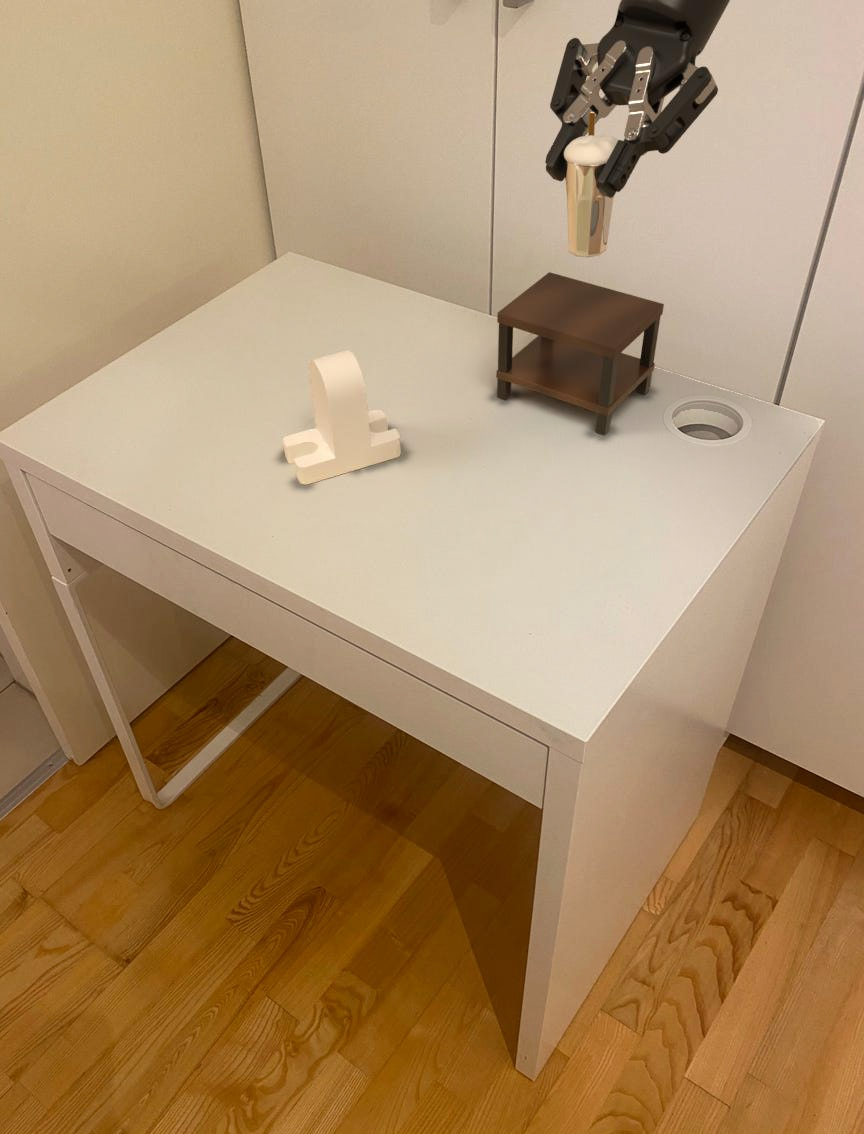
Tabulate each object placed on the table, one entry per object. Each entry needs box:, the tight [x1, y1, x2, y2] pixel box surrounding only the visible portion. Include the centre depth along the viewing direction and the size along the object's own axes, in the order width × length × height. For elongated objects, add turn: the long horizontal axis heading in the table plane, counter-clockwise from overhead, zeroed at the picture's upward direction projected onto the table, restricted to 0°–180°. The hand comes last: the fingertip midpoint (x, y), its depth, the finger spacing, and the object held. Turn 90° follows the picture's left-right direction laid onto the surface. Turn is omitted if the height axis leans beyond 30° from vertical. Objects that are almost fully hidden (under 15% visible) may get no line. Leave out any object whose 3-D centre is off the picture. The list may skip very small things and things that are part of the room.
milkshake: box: [564, 112, 619, 258], centre depth 82 cm, size 4×5×10 cm
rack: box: [495, 271, 665, 436], centre depth 93 cm, size 12×9×9 cm
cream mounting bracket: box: [282, 349, 402, 485], centre depth 88 cm, size 5×10×10 cm, turn 112°
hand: (578, 183), depth 80 cm, fingers closed on milkshake, 4 cm apart
